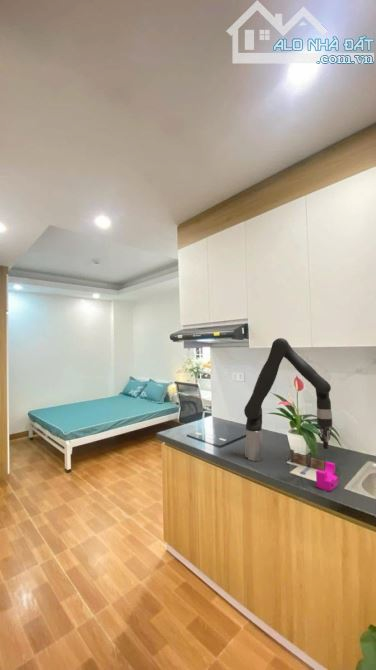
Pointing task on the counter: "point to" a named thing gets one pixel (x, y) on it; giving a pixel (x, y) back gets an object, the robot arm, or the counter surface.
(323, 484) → the toy block
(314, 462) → the fence panel
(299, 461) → the fence fixed
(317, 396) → the robot arm
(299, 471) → the card
